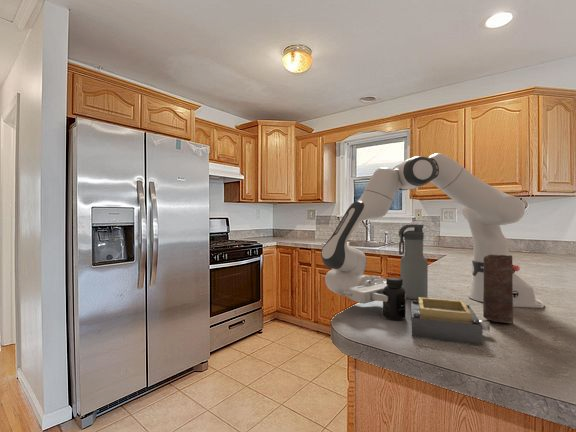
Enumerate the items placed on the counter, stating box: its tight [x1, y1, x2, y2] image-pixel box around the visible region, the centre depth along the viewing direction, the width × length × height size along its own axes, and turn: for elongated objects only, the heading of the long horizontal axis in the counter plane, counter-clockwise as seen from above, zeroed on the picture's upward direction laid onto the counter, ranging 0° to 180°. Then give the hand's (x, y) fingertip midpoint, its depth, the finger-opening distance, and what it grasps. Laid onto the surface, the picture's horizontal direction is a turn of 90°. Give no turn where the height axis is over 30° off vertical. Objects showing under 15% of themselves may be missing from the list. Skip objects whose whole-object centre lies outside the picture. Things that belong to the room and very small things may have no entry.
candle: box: [482, 255, 514, 324], centre depth 92 cm, size 8×7×20 cm
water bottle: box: [398, 223, 429, 301], centre depth 120 cm, size 10×10×28 cm
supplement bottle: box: [382, 276, 407, 321], centre depth 96 cm, size 7×7×12 cm
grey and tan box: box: [410, 297, 491, 347], centre depth 85 cm, size 19×16×7 cm
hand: (396, 296), depth 95 cm, fingers closed on supplement bottle, 7 cm apart
